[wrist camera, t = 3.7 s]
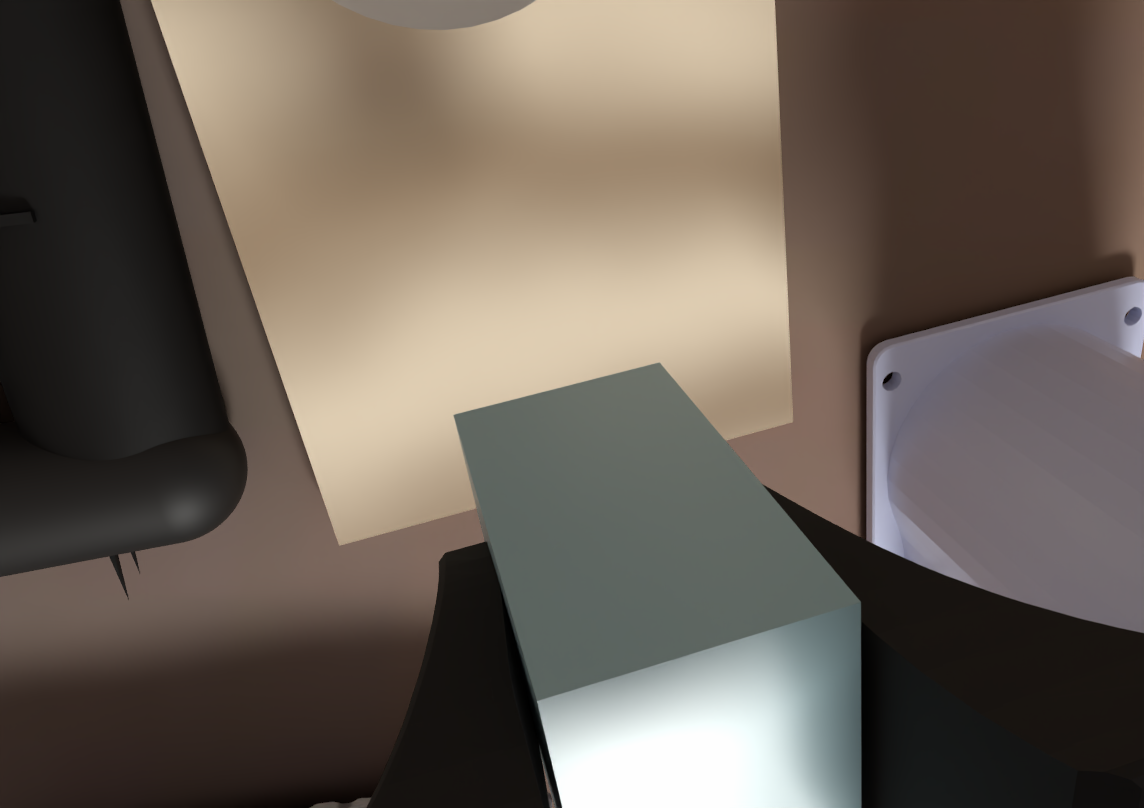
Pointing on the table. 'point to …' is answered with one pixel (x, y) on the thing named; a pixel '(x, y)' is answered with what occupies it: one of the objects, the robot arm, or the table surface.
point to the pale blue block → (663, 605)
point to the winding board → (492, 214)
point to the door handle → (96, 309)
